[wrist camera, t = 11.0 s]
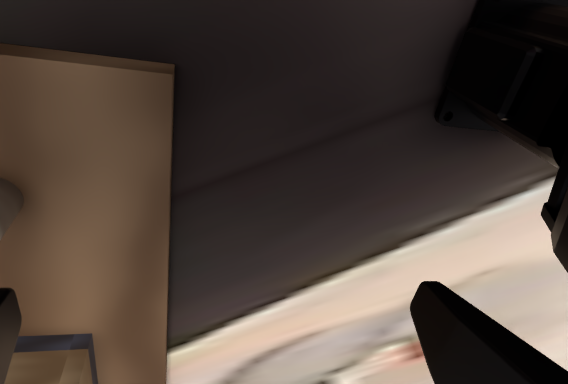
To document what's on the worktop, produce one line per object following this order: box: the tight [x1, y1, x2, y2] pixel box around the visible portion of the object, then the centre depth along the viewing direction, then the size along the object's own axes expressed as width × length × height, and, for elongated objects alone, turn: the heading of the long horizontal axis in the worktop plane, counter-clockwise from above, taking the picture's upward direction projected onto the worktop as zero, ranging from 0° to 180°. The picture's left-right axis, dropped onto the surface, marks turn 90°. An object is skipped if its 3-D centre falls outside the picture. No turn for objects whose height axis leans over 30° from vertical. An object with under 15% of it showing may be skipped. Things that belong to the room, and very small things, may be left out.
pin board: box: [0, 43, 175, 384], centre depth 18 cm, size 14×24×6 cm, turn 170°
